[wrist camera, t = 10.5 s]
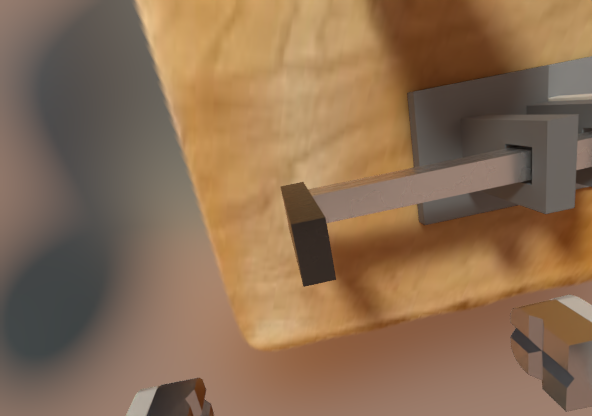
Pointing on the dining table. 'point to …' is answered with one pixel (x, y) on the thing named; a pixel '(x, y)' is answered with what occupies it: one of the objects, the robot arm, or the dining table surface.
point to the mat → (571, 81)
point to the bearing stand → (501, 140)
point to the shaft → (397, 197)
